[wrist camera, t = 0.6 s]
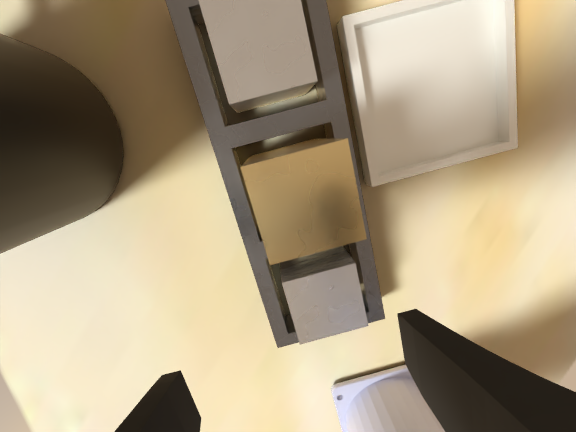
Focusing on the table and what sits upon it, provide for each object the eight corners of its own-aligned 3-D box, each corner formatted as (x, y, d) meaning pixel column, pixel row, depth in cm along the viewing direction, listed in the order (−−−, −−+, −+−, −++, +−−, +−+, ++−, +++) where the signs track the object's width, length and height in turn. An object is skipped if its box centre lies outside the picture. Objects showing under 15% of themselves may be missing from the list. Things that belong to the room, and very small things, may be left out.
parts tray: (501, 147, 18) (517, 147, 17) (365, 183, 18) (372, 187, 17) (495, -17, 15) (513, -30, 14) (336, 25, 15) (342, 16, 14)
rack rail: (373, 301, 20) (399, 339, 16) (276, 327, 20) (279, 372, 16) (310, -24, 15) (326, -83, 11) (176, 11, 15) (144, -35, 11)
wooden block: (328, 201, 18) (366, 239, 11) (268, 218, 18) (270, 265, 11) (314, 138, 17) (347, 138, 10) (250, 156, 17) (240, 167, 10)
